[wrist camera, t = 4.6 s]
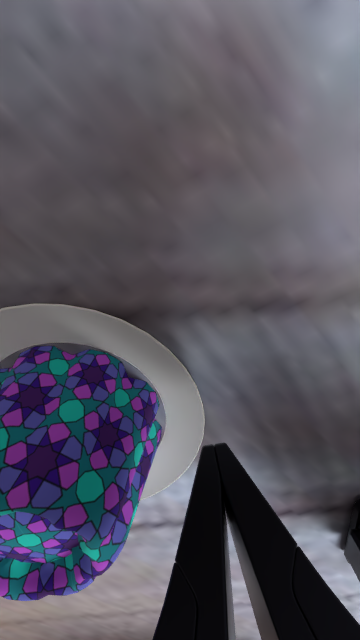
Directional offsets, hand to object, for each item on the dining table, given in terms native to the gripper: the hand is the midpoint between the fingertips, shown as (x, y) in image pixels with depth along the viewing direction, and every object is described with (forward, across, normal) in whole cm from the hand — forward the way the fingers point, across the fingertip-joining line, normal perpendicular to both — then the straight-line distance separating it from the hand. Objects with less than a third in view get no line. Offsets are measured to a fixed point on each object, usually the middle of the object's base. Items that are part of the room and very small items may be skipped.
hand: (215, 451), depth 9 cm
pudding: (+3, +6, 0) cm, 7 cm away
